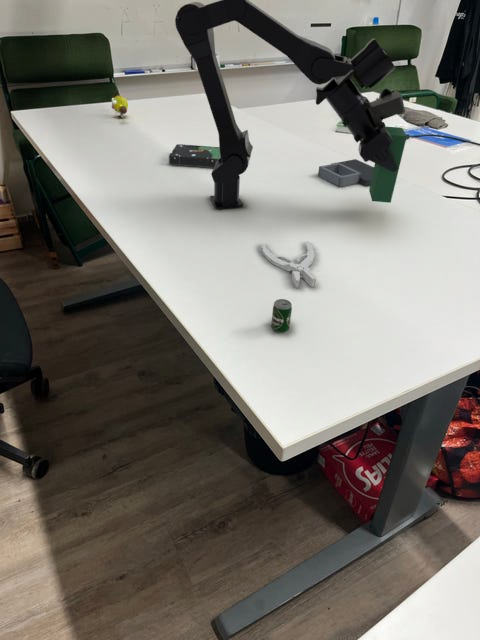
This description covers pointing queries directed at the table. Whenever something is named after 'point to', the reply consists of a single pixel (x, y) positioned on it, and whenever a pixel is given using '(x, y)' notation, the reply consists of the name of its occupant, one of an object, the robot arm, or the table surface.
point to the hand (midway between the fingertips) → (393, 165)
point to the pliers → (294, 265)
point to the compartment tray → (347, 173)
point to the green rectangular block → (383, 177)
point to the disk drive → (194, 155)
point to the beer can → (281, 315)
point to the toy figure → (119, 105)
